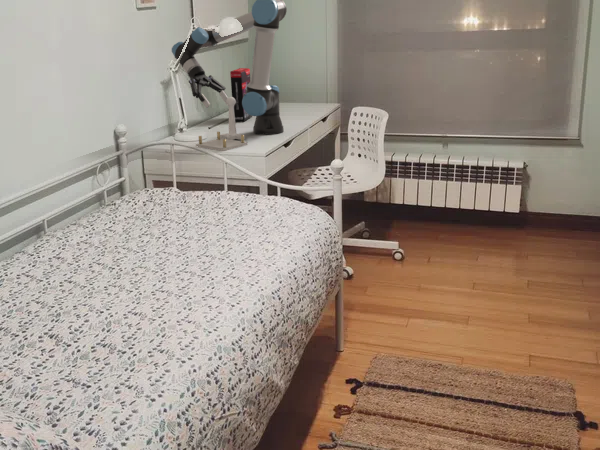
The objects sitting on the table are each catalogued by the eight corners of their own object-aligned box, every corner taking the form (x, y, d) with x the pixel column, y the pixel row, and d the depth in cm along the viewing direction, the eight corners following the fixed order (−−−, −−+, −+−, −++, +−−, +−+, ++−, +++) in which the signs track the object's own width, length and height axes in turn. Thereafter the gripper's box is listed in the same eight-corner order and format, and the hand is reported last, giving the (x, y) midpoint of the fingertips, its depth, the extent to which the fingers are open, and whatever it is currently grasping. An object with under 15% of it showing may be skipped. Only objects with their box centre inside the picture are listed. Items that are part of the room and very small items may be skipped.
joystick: (245, 138, 330) (243, 96, 324) (239, 141, 324) (237, 98, 317) (224, 137, 334) (221, 96, 328) (217, 140, 327) (215, 98, 321)
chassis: (220, 140, 326) (219, 131, 325) (247, 144, 317) (247, 134, 315) (196, 146, 314) (195, 136, 313) (223, 150, 304) (222, 140, 303)
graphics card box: (244, 122, 374) (242, 71, 366) (232, 122, 376) (229, 71, 367) (252, 117, 390) (250, 67, 382) (241, 117, 392) (238, 67, 383)
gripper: (209, 73, 343) (232, 106, 339) (171, 78, 324) (196, 112, 320) (216, 62, 338) (240, 95, 334) (178, 67, 320) (203, 102, 315)
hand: (218, 104), depth 327 cm, fingers open, 13 cm apart
